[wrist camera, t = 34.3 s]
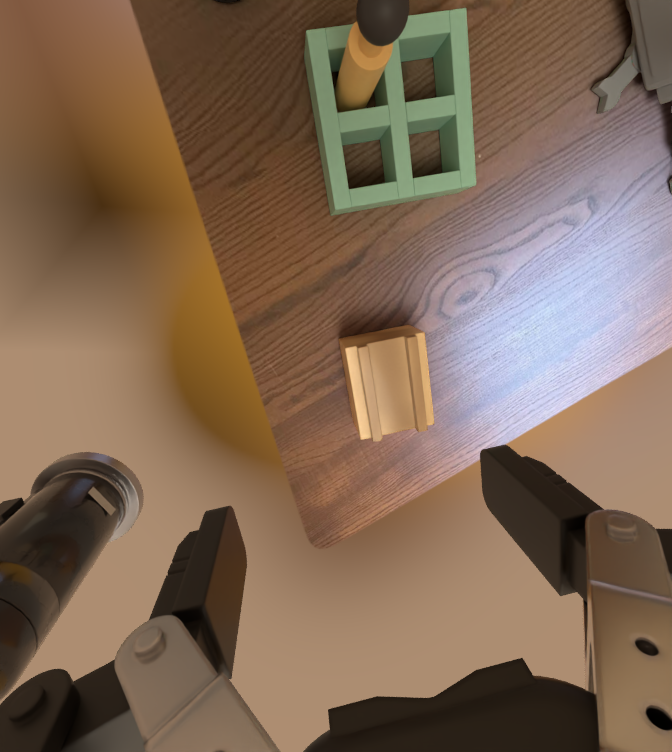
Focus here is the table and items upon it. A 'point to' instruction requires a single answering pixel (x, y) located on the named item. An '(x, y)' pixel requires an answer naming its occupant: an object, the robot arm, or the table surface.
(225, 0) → the beverage can
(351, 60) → the vial
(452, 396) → the table surface
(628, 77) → the toy robot
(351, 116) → the vial rack
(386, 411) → the vial rest
